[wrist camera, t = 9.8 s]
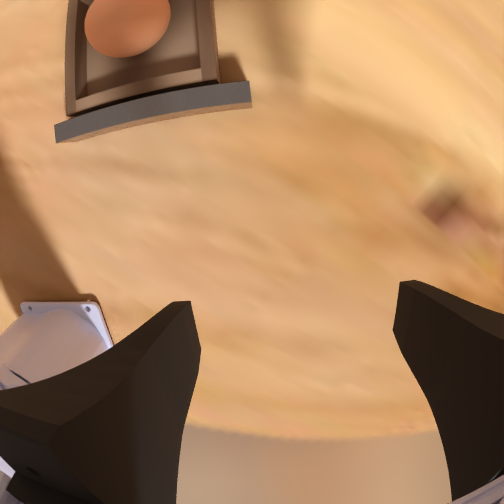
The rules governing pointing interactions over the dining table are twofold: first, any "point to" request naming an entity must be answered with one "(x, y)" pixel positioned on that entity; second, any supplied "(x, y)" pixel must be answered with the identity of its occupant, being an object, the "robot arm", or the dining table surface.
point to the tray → (141, 60)
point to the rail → (156, 110)
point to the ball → (126, 25)
